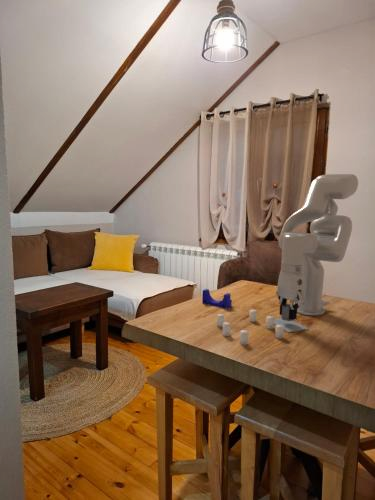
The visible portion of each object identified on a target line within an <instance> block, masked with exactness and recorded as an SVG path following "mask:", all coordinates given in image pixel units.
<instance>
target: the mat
mask: <svg viewBox="0 0 375 500" xmlns="http://www.w3.org/2000/svg"><path fill="white" fill-rule="evenodd" d="M276 325H283V326H284V330H283V332H284V331H285V332H286V333H288V334H289V333H294V332H300V331H308V330H309V327H306V326H305V325H303V324H300V323H299V322H297V321H295V320H293V321H286V320H282V318H281V317H279V318H274V326H276Z"/></svg>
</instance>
